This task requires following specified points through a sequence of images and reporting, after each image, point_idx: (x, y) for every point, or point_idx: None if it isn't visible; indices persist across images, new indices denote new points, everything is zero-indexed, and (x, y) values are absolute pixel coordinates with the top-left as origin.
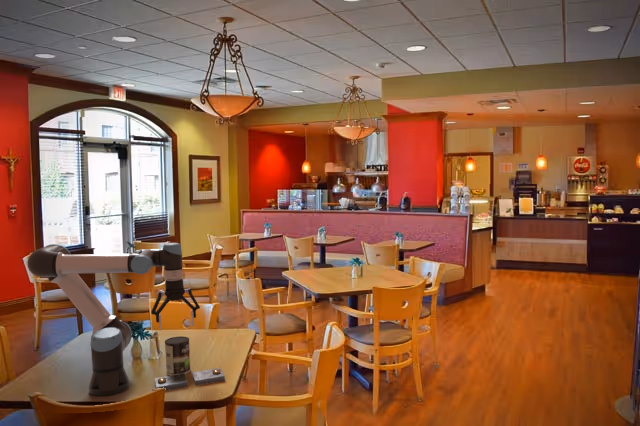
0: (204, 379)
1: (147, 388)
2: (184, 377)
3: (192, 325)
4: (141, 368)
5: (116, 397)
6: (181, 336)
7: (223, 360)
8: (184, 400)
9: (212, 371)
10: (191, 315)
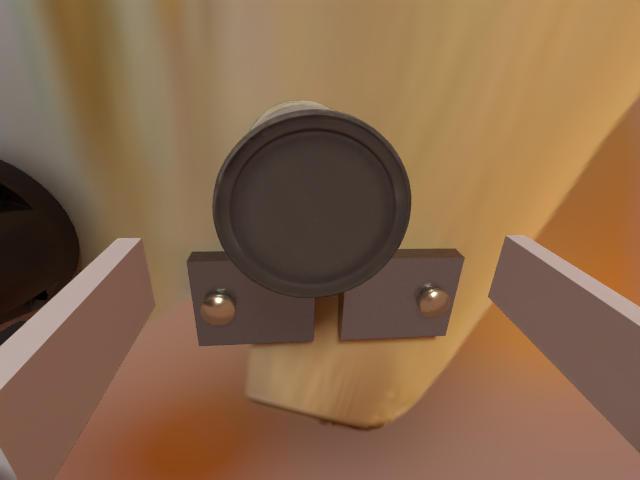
0: (374, 337)
1: (165, 291)
2: (309, 299)
3: (494, 299)
4: (94, 3)
5: None
6: (368, 129)
7: (529, 109)
8: (287, 407)
9: (420, 304)
10: (587, 368)
